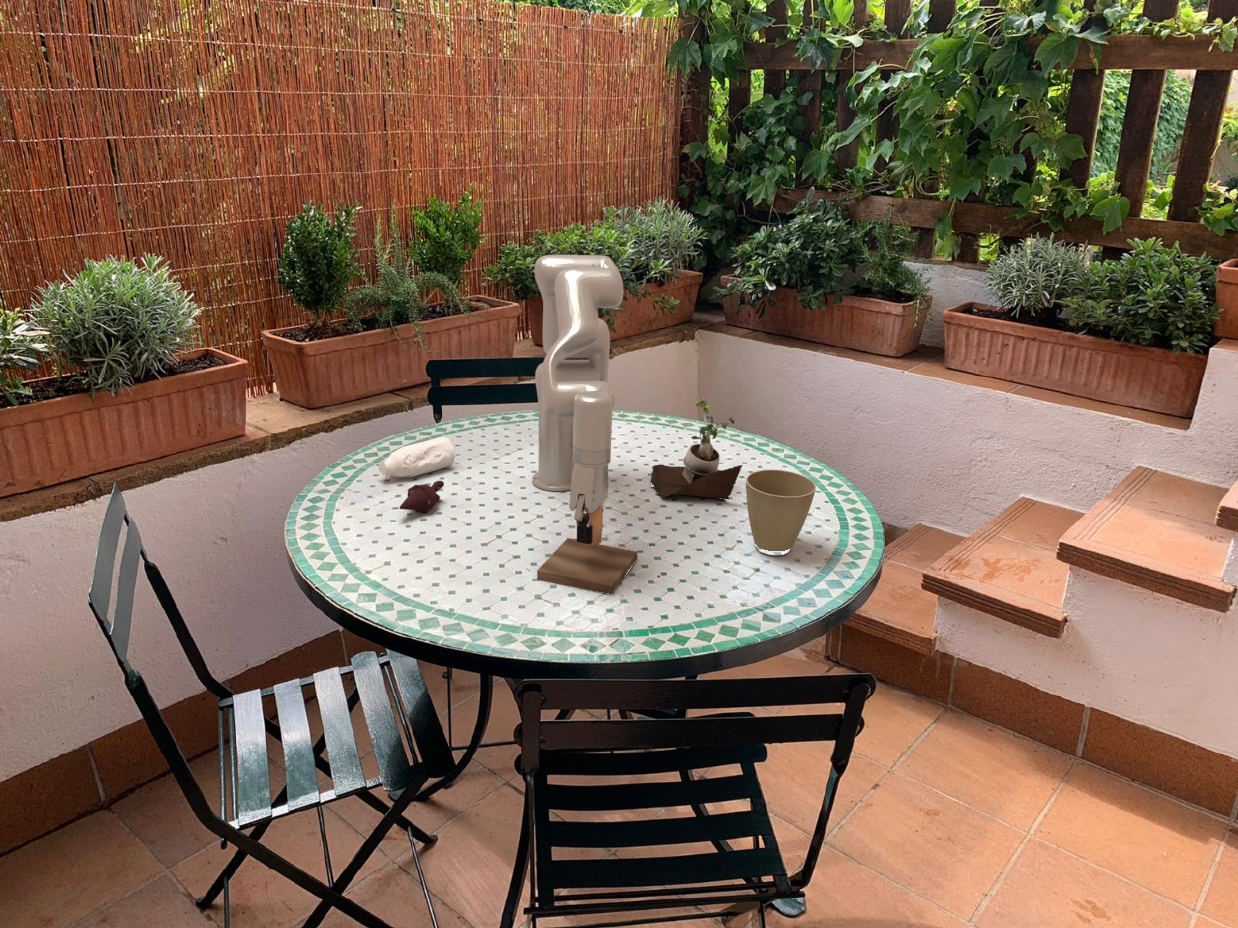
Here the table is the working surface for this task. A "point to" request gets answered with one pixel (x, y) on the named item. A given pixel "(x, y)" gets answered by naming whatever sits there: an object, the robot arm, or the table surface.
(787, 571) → the table surface
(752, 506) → the plant pot
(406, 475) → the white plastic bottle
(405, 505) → the dark brown tapered piece
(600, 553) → the walnut board
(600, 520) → the terracotta cylinder
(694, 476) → the potted plant
